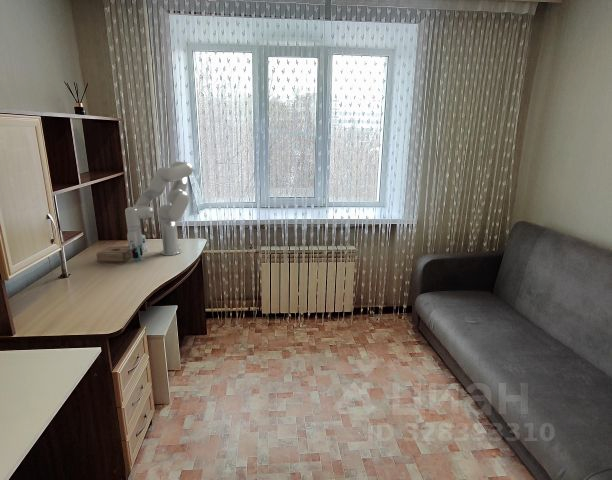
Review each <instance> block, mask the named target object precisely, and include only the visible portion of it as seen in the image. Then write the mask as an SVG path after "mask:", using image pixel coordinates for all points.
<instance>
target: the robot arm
mask: <svg viewBox="0 0 612 480" xmlns="http://www.w3.org/2000/svg"><path fill="white" fill-rule="evenodd" d="M193 172H194V167H193V165H192V164H191V163H189V162H186V161H174V162H172V165H171V167H168V166H161V167H159V168H158V169H157V170H156V172H155V174H154V176H153V177H152V179H151V182H150V183H149V185H148V187H147V188H146V189H145V190H144V191H143V192H142V194H141V195H140V196H139V197H138V198H137V201H136V202H135V205H134V206H130V207H127V208H125V210H124V212H125V213H124V215H125V221H126V228H127V235H128V239H127V246H128V247H130V250H131V251H132V253H133V257H132V259H135V258H139V257H138V252H137V247H138V246H139V247H140V255H141V256H142V257H143V252H142V243H143V238H142V235H143V233H142V225H141V219H150V218H152V217H153V216H154V214H155V210H154V209H153V207H151V206H149V205H150V203H152V201H153V200H154V199H156V198H157V197H159V196H161V195H163V193H164V191H165V188H166V187H167V185H168V183H171V182H173V184H172V185H171V188H170V190H169V191H168V193H167V195H166V198H167V202H169V204H162V205H161V206H160V207H159V208H158V210H157V215H158V218H159V223H160V231H161V232H160V233H161V239H162V249H163V250H161V251H160V254H161V255H163V256H175V255H179V254H181V253H182V249H181V248H180V247H179V246H180V243H179V239H178V235H179V234H178V226H177V222H179V221H180V220H182V218H183V215H184V214H185V211H186V210H187V207H188V206H189V203H190V195H189V194H188V192H186V191H187V188H188V184H189V179H188V178H189V176H191V175H192V174H193ZM133 246H135V247H133ZM134 248H135V249H134Z"/></svg>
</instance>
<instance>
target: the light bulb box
mask: <svg viewBox="0 0 612 480" xmlns="http://www.w3.org/2000/svg"><path fill="white" fill-rule="evenodd" d="M126 237H127V240H128V234H126ZM142 238H143V243H142V253H144V252H147V251H148V247H147V240H146V239H147V238H146V235H145V234H142Z"/></svg>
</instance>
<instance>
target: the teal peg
mask: <svg viewBox="0 0 612 480" xmlns="http://www.w3.org/2000/svg"><path fill="white" fill-rule="evenodd" d="M134 247H135V246H134ZM134 249H135V248H134ZM137 252H138V257H139V258H134V260H135V262H136V263H140V262H141V261H142V257H141V255H140V247H139V246H138V247H137Z"/></svg>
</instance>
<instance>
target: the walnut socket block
mask: <svg viewBox="0 0 612 480" xmlns="http://www.w3.org/2000/svg"><path fill="white" fill-rule="evenodd" d="M133 247H134V246H133ZM95 254H96V262H97V264H125V263H127V262H128V261H129V260H131V259H133V253H132V251H131V250H130V247H128V245H109V246H108V247H105V248H104V249H102V250H100V251H98V252H96V253H95Z"/></svg>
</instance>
